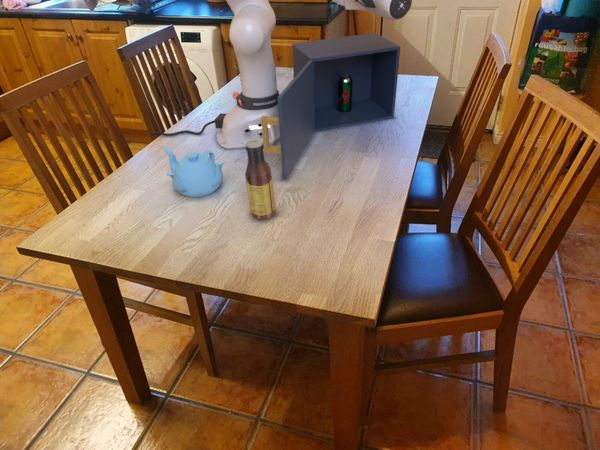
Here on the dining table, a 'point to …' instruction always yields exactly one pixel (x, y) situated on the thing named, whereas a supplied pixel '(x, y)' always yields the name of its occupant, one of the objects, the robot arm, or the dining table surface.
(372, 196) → the dining table surface
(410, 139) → the dining table surface
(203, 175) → the teapot
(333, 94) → the cupboard
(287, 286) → the dining table surface
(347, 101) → the soda can
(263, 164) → the sauce bottle
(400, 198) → the dining table surface
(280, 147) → the cupboard door
